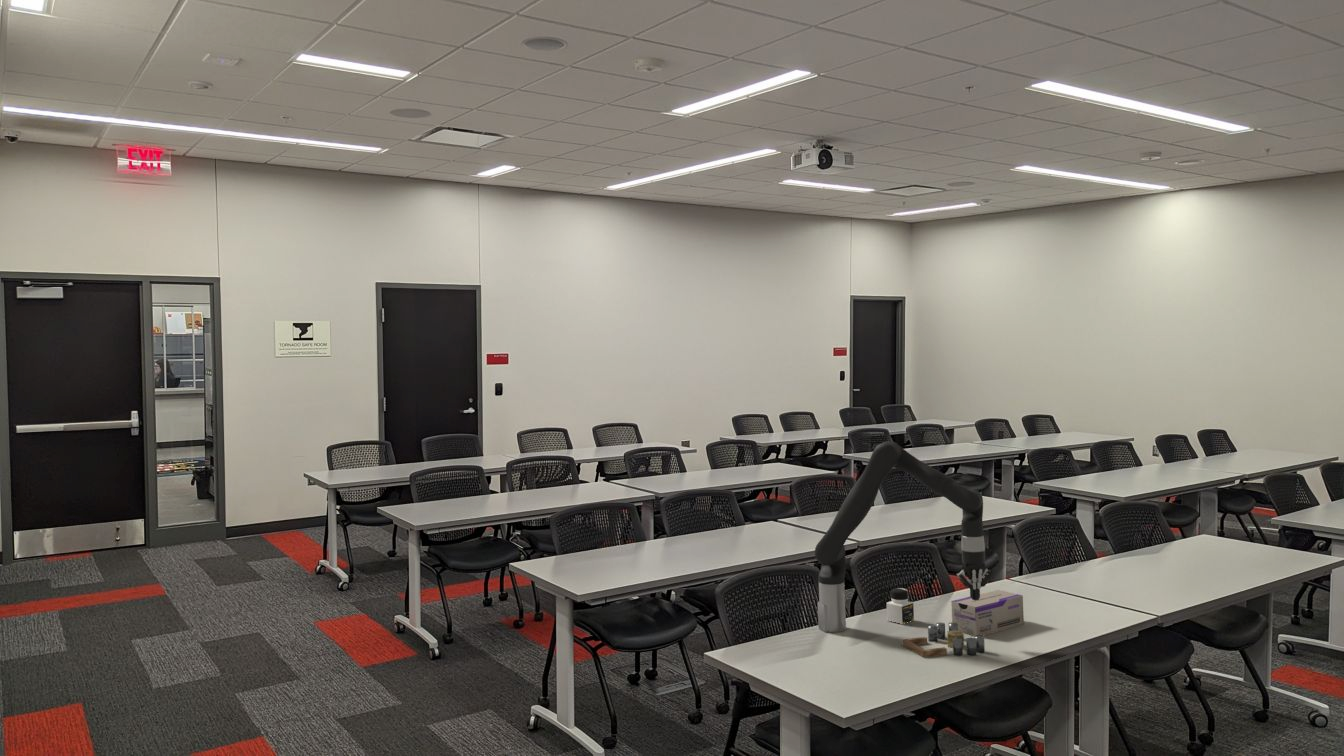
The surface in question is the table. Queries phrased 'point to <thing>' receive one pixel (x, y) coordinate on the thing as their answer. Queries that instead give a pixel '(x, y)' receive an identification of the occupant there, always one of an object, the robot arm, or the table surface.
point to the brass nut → (954, 635)
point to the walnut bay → (914, 647)
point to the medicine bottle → (900, 607)
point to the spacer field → (956, 639)
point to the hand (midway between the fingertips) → (975, 599)
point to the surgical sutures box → (988, 613)
